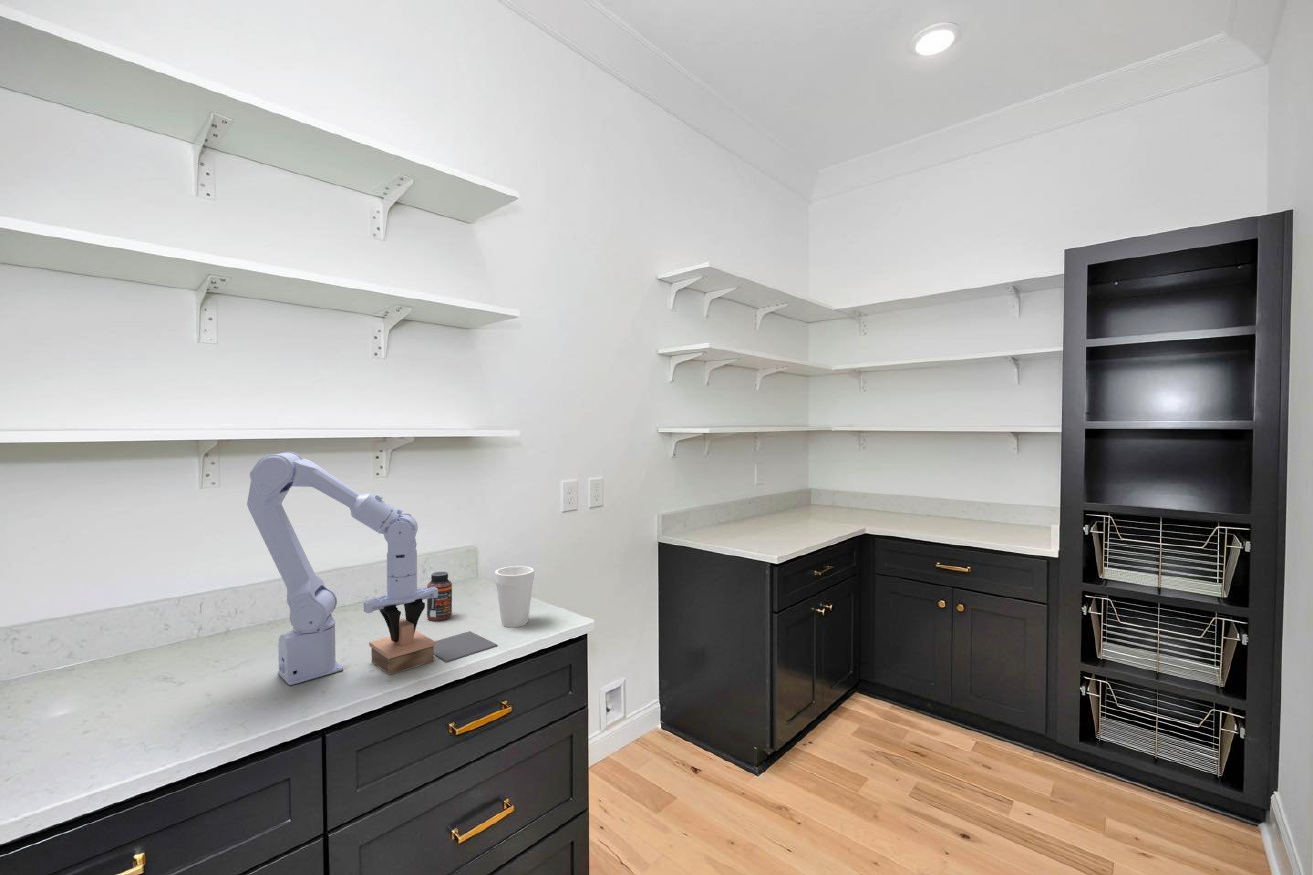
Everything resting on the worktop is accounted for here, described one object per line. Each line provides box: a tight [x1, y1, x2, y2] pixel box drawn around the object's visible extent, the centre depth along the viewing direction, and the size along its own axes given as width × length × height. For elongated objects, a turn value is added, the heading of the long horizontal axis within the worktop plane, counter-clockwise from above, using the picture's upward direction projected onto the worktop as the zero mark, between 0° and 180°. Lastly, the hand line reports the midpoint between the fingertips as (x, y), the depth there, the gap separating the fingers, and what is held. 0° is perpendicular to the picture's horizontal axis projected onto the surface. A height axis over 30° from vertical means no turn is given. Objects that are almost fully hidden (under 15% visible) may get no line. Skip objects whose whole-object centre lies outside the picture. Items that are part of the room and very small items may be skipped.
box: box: [371, 646, 435, 676], centre depth 120 cm, size 9×9×3 cm
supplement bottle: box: [426, 571, 453, 622], centre depth 146 cm, size 6×6×11 cm
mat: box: [433, 630, 498, 663], centre depth 128 cm, size 12×12×1 cm
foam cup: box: [494, 565, 535, 628], centre depth 143 cm, size 10×9×13 cm
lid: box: [368, 618, 436, 659], centre depth 120 cm, size 10×10×5 cm
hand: (402, 638), depth 120 cm, fingers closed on lid, 2 cm apart
